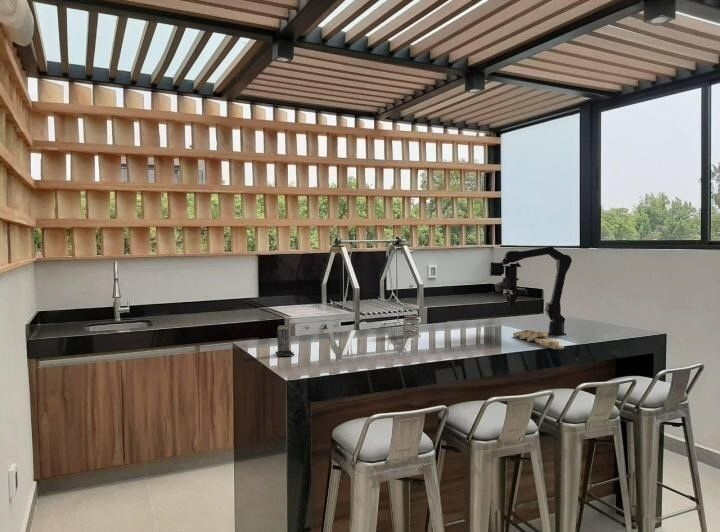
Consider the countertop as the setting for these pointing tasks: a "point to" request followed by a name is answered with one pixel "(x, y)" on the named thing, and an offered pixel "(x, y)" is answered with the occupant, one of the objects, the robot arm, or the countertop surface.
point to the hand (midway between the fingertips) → (510, 307)
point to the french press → (412, 320)
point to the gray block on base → (283, 341)
